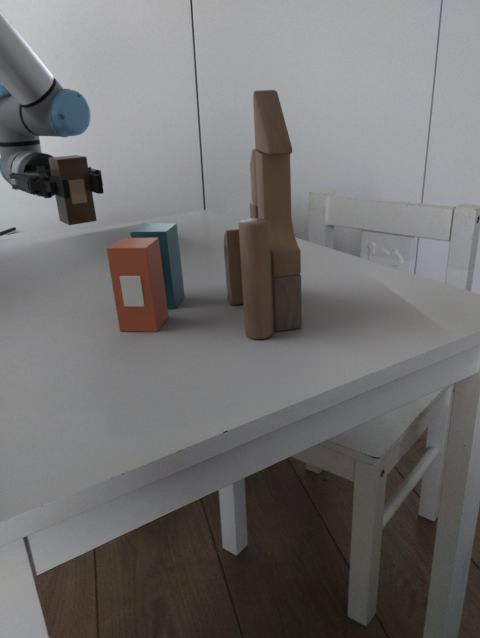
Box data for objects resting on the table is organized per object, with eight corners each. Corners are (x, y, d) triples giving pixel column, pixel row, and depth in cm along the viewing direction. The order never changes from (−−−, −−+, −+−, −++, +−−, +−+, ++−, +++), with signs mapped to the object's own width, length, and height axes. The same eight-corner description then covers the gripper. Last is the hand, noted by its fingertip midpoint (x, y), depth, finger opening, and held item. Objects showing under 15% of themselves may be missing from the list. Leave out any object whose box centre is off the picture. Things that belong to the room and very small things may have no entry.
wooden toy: (224, 297, 76) (209, 92, 66) (273, 291, 78) (265, 89, 67) (248, 342, 63) (233, 92, 52) (307, 334, 64) (303, 88, 53)
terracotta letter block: (133, 316, 71) (121, 237, 67) (168, 317, 71) (158, 237, 66) (119, 331, 67) (105, 248, 63) (156, 332, 66) (145, 248, 62)
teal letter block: (152, 296, 78) (142, 223, 74) (184, 296, 77) (176, 223, 73) (140, 309, 74) (129, 232, 69) (175, 309, 73) (165, 231, 69)
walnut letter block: (59, 221, 94) (48, 157, 90) (87, 217, 96) (76, 154, 92) (69, 225, 91) (57, 159, 86) (97, 221, 93) (86, 156, 89)
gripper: (89, 188, 111) (139, 203, 93) (-7, 201, 101) (29, 220, 84) (82, 148, 108) (133, 155, 90) (-18, 157, 98) (18, 167, 81)
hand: (83, 186), depth 87 cm, fingers closed on walnut letter block, 5 cm apart
